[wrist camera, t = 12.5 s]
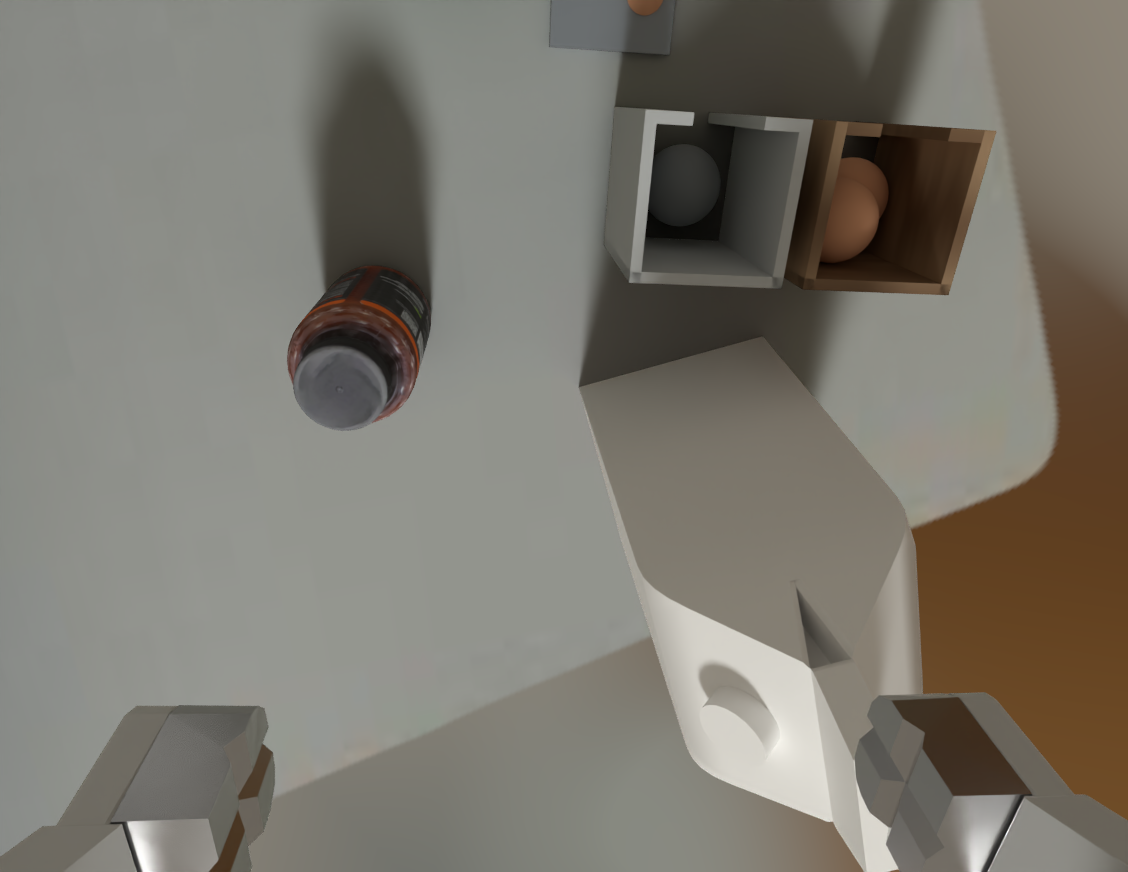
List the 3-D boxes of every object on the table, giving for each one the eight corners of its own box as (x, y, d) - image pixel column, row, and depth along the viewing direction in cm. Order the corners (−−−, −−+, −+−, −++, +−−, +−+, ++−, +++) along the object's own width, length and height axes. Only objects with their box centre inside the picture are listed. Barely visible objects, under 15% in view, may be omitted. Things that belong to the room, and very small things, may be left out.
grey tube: (614, 106, 36) (645, 109, 28) (746, 114, 37) (813, 119, 29) (603, 244, 39) (629, 282, 31) (725, 249, 40) (781, 288, 32)
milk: (786, 499, 48) (1056, 885, 24) (622, 543, 48) (732, 961, 25) (762, 336, 43) (1076, 627, 19) (578, 387, 43) (666, 730, 20)
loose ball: (868, 161, 35) (788, 166, 34) (905, 196, 32) (818, 201, 32) (847, 237, 37) (773, 241, 37) (879, 275, 35) (800, 280, 34)
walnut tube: (764, 116, 37) (836, 121, 29) (891, 123, 38) (996, 131, 30) (742, 250, 40) (802, 289, 32) (860, 255, 41) (948, 295, 33)
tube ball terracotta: (801, 152, 37) (865, 166, 34) (850, 150, 39) (915, 163, 36) (784, 229, 39) (843, 248, 36) (831, 224, 41) (891, 242, 38)
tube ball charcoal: (640, 139, 37) (654, 144, 34) (714, 143, 38) (736, 148, 34) (632, 218, 39) (645, 230, 35) (703, 221, 39) (723, 234, 36)
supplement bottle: (309, 335, 40) (244, 414, 30) (351, 242, 38) (296, 295, 28) (406, 381, 42) (374, 472, 32) (451, 295, 40) (432, 363, 30)
